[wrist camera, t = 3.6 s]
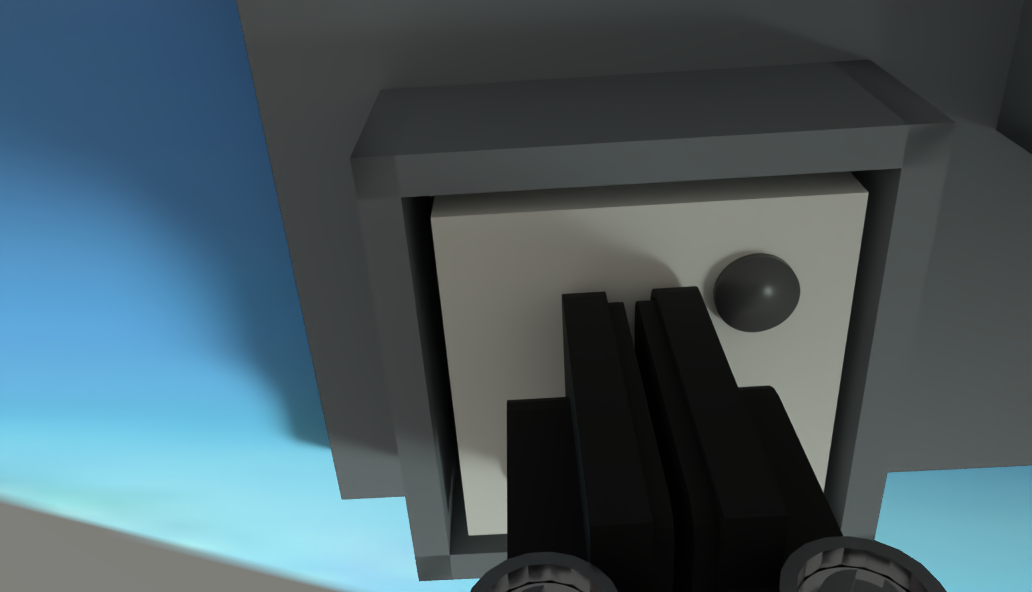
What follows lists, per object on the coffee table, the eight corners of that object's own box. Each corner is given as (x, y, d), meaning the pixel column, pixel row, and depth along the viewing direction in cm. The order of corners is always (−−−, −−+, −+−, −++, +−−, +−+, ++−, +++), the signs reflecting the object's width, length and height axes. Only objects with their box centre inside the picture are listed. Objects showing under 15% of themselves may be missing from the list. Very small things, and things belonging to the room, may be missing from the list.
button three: (814, 133, 12) (873, 197, 10) (781, 429, 14) (823, 526, 12) (441, 155, 12) (429, 223, 10) (473, 445, 14) (468, 543, 12)
